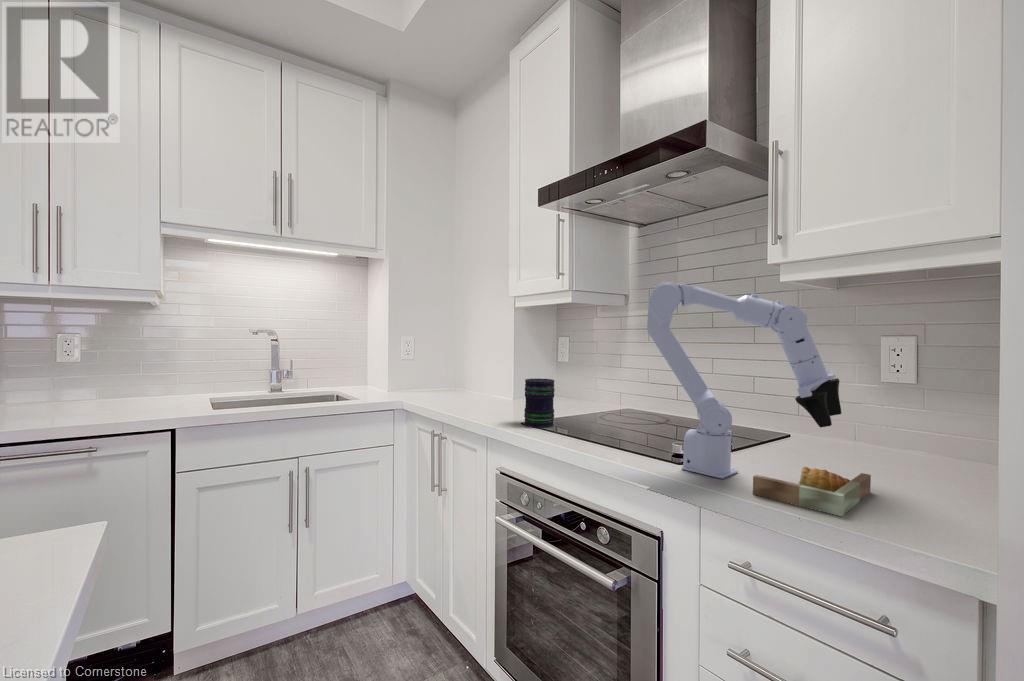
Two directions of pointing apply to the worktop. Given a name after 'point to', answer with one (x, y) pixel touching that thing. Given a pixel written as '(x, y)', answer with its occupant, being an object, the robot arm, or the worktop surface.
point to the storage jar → (539, 403)
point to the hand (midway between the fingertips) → (831, 420)
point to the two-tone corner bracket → (814, 493)
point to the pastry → (822, 479)
